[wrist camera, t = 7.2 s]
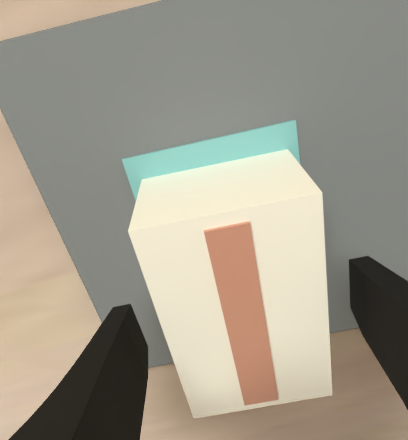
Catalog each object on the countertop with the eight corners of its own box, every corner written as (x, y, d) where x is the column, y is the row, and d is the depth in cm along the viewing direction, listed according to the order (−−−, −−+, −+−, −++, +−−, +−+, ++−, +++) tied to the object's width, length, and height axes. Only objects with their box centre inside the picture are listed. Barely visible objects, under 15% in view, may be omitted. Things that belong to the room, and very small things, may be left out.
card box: (304, 323, 16) (333, 397, 13) (191, 343, 16) (193, 421, 13) (287, 149, 12) (324, 194, 9) (141, 179, 13) (127, 233, 9)
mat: (688, -131, 10) (722, -142, 9) (559, 278, 16) (573, 288, 16) (-19, 47, 11) (-31, 48, 10) (127, 361, 18) (125, 373, 17)
